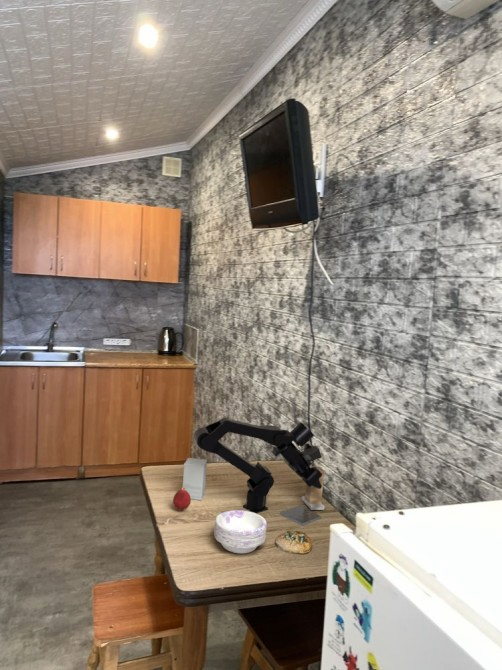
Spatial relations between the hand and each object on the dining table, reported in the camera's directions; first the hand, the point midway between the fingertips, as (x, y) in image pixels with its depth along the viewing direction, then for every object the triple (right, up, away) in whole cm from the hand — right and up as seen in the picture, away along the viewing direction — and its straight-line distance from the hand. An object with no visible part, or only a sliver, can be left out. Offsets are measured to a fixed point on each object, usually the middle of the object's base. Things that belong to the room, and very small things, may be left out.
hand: (318, 485), depth 179 cm
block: (-2, -7, 0) cm, 7 cm away
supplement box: (-45, -4, +1) cm, 45 cm away
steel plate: (-7, -8, -9) cm, 14 cm away
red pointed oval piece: (-48, -5, -13) cm, 49 cm away
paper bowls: (-28, -8, -32) cm, 43 cm away
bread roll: (-11, -10, -29) cm, 33 cm away
